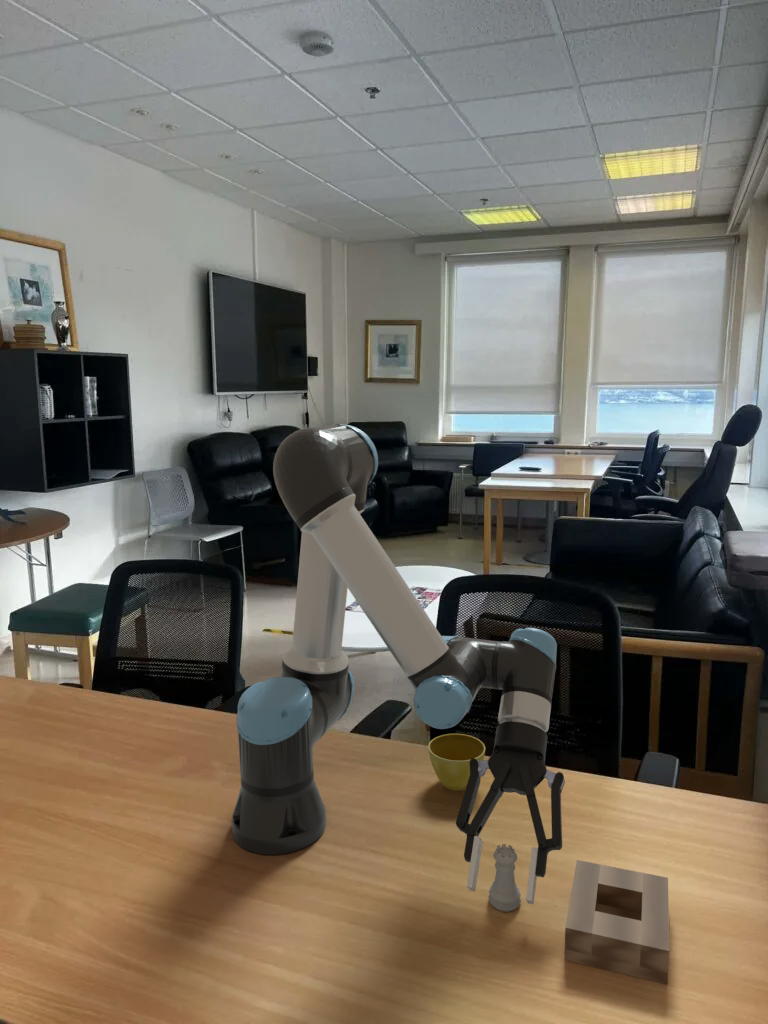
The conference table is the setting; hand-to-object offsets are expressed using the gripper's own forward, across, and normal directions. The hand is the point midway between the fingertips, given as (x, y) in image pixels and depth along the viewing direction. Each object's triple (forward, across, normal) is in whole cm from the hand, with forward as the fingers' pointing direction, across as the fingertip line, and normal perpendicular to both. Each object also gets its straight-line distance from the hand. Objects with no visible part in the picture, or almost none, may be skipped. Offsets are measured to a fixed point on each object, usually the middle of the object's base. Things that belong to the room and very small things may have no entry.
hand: (499, 895), depth 99 cm
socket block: (+1, -15, -4) cm, 16 cm away
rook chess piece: (0, 0, -5) cm, 5 cm away
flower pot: (-20, +14, -25) cm, 35 cm away
